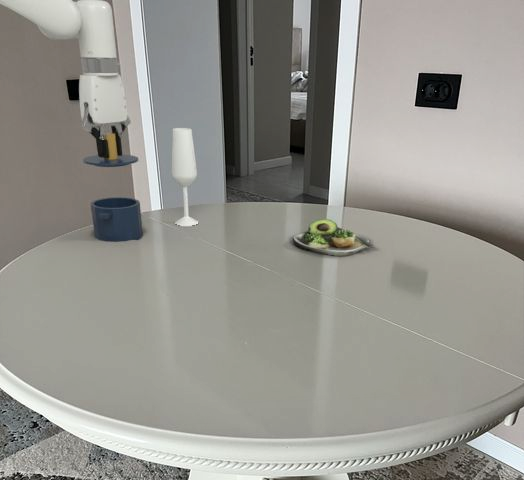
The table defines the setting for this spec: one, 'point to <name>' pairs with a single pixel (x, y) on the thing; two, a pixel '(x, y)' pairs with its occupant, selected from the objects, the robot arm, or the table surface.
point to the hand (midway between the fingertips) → (110, 155)
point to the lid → (111, 156)
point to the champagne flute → (184, 167)
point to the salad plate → (331, 239)
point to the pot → (117, 219)
